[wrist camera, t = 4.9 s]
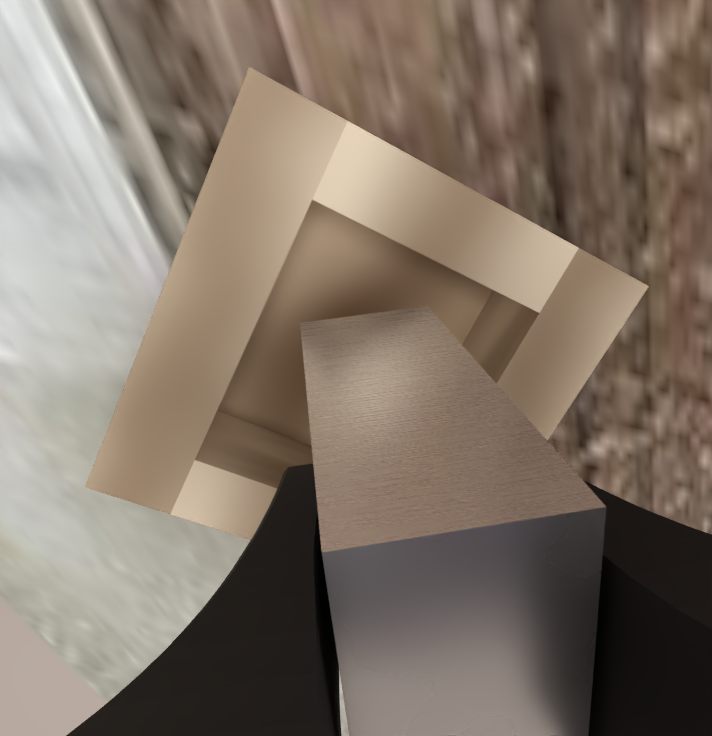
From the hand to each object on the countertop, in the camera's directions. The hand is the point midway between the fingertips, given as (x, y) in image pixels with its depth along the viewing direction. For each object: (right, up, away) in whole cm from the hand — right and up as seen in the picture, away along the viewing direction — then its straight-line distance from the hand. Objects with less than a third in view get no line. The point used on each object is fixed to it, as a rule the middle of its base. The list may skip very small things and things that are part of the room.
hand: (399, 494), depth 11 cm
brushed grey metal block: (0, +1, +3) cm, 3 cm away
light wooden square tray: (-1, +3, +9) cm, 9 cm away
